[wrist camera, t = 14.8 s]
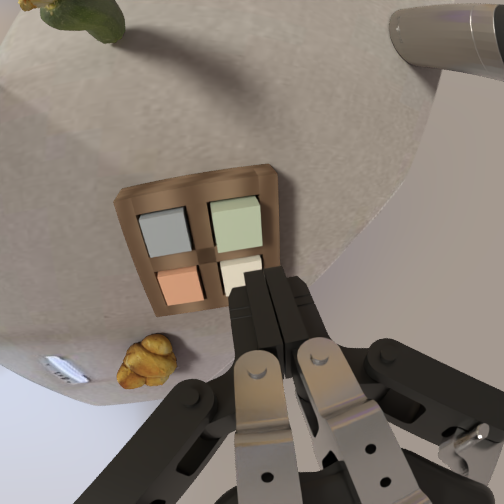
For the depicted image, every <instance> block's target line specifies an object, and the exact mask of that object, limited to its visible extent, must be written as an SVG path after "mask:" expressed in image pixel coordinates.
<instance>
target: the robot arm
mask: <svg viewBox="0 0 504 504" xmlns="http://www.w3.org/2000/svg"><path fill="white" fill-rule="evenodd" d="M389 31H390V37H391V40H392V42H393V44H394V46H395V49H396V50H397V51H398V53H399V54H400V55H401V56H402V58H403V59H404V60H406V61H407V62H408V63H410V64H412V65H415V66H419V67H429V68H437V69H444V70H452V71H458V72H463V73H468V74H473V75H478V76H482V77H487V78H491V79H495V80H499V81H503V82H504V5H500V4H481V3H480V4H472V3H466V4H443V5H431V6H422V7H414V8H408V9H402V10H398V11H396V12H395V13H394V14H393V15H392V17H391V19H390V23H389ZM243 274H244V280H245V286H240V287H234V288H232V290H231V292H230V294H229V297H228V303H229V311H230V319H231V327H232V335H233V342H234V349H235V360H234V363H233V365H232V367H231V368H230V369H229V370H228V371H227V372H226V373H225V374H223V375H222V376H220V377H218V378H216V379H213V380H211V381H209V382H207V383H205V382H204V381H201V380H198V379H188V380H184V381H182V382H180V383H178V384H177V385H176V386H175V387H174V388H173V389H172V390H171V391H170V392H169V394H168V395H167V396H166V397H165V398H164V400H163V401H162V402H161V403H160V405H159V406H158V407H157V408H156V409H155V411H154V412H153V413H152V414H151V415H150V417H149V418H148V419H147V420H146V422H144V424H143V425H142V426H141V427H140V428H139V429H138V431H137V432H136V433H135V435H133V437H132V438H131V439H130V440H129V441H128V442H127V444H126V445H125V446H124V447H123V448H122V449H121V451H120V452H119V453H118V454H117V455H116V457H114V459H113V460H112V461H111V462H110V463H109V464H108V465H107V467H106V468H105V469H104V470H103V471H102V472H101V473H100V474H99V476H98V477H97V478H96V479H95V480H94V481H93V482H92V484H91V485H90V486H89V487H88V488H87V489H86V490H85V491H84V492H83V493H82V494H81V496H80V497H79V498H78V499H77V500H76V501H75V502H74V503H73V504H176V502H177V501H178V500H179V498H181V496H182V495H183V494H184V493H185V491H186V490H187V489H188V488H189V486H190V485H191V484H192V483H193V481H194V480H195V479H196V478H197V476H198V475H199V474H200V472H201V471H202V470H203V468H204V467H205V466H206V465H207V463H208V462H209V460H210V459H211V458H212V456H213V455H214V454H215V452H216V451H217V449H218V448H219V447H220V445H221V444H222V443H223V441H224V440H225V438H226V437H227V435H228V434H229V433H231V432H233V431H235V430H236V432H235V437H234V447H235V463H236V478H237V486H235V487H233V488H232V489H230V490H228V491H227V492H226V493H225V494H223V495H222V496H221V497H220V498H219V499H218V500H217V501H216V502H215V504H495V499H494V495H493V493H492V491H491V490H490V488H488V487H487V485H488V483H489V481H490V479H491V476H492V474H493V471H494V469H495V466H496V464H497V461H498V458H499V455H500V452H501V450H502V446H503V444H504V392H503V391H501V390H499V389H497V388H495V387H492V386H490V385H488V384H486V383H484V382H481V381H479V380H477V379H475V378H473V377H471V376H468V375H467V374H465V373H462V372H460V371H458V370H456V369H454V368H452V367H450V366H448V365H446V364H443V363H441V362H439V361H437V360H435V359H433V358H431V357H429V356H427V355H425V354H422V353H421V352H419V351H416V350H414V349H412V348H410V347H408V346H406V345H404V344H402V343H400V342H398V341H396V340H393V339H388V338H384V339H379V340H377V341H376V342H374V343H373V344H372V345H371V346H370V347H369V348H346V347H343V346H340V345H338V344H336V343H335V342H334V341H332V340H331V338H330V337H329V335H328V333H327V332H326V329H325V326H324V324H323V322H322V319H321V317H320V315H319V312H318V310H317V308H316V305H315V304H314V301H313V299H312V296H311V294H310V292H309V289H308V287H307V285H306V283H305V282H303V281H302V280H301V279H300V278H299V277H298V276H294V277H289V278H286V275H285V273H284V270H283V267H282V266H276V267H270V268H265V269H263V271H262V269H260V270H254V271H248V272H243ZM284 374H285V377H286V378H292V377H293V381H294V384H295V388H296V389H295V394H296V398H297V401H298V404H299V407H300V409H301V412H302V415H303V417H304V420H305V423H306V425H307V428H308V431H309V433H310V436H311V439H312V445H313V450H314V454H315V456H316V459H317V462H318V464H319V467H320V471H318V472H298V468H297V461H296V455H295V449H294V442H293V436H292V431H291V427H290V424H289V418H288V412H287V406H286V399H285V393H284V387H283V379H284ZM387 421H388V422H391V423H392V424H394V425H396V426H398V427H400V428H402V429H404V430H406V431H408V432H410V433H412V434H414V435H416V436H418V437H420V438H422V439H425V440H427V441H429V442H431V443H433V444H436V445H438V446H439V452H438V457H439V459H440V460H442V461H443V462H444V463H445V464H447V465H448V466H449V467H450V468H451V470H452V471H451V470H449V469H446V468H444V467H442V466H440V465H438V464H436V463H434V462H431V461H430V460H428V459H426V458H424V457H422V456H420V455H418V454H416V453H414V452H412V451H409V450H406V449H403V448H400V446H399V444H398V442H397V440H396V438H395V436H394V434H393V432H392V429H391V428H390V426H389V424H388V422H387Z"/></svg>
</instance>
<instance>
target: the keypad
mask: <svg viewBox="0 0 504 504" xmlns="http://www.w3.org/2000/svg"><path fill="white" fill-rule="evenodd" d="M250 195H255V197H256V199H257V201H258V203H259V204H260V213H261V229H262V245H263V246H259V247H252V248H246V249H240V250H234V251H228V252H222V253H218V249H217V243H216V237H215V231H214V225H213V219H212V212H211V205H210V201H216V200H222V199H229V198H236V197H243V196H250ZM113 203H114V206H115V209H116V212H117V216H118V219H119V222H120V225H121V228H122V231H123V234H124V237H125V240H126V242H127V245H128V248H129V251H130V254H131V256H132V259H133V262H134V264H135V267H136V270H137V272H138V275H139V277H140V280H141V282H142V285H143V287H144V290H145V292H146V294H147V297H148V299H149V301H150V304H151V306H152V308H153V311H154V313H155V315H156V317H160V316H167V315H175V314H181V313H188V312H195V311H201V310H208V309H214V308H220V307H226V306H229V303H228V297H229V296H226V293H225V287H224V282H223V276H222V271H221V265H220V261H225V260H231V259H237V258H243V257H249V256H255V255H260V258H261V263H262V271H263V269H265V268H270V267H276V266H280V240H279V200H278V174H277V173H276V171H275V170H274V169H273V168H272V167H271V166H270V165H269V164H261V165H253V166H245V167H237V168H230V169H223V170H216V171H209V172H203V173H197V174H191V175H185V176H180V177H175V178H169V179H164V180H159V181H154V182H149V183H145V184H140V185H136V186H131V187H127V188H122V189H121V191H120V192H119V194H118V195H117V197H116V198H115V200H114V202H113ZM181 206H185V208H186V213H187V218H188V223H189V228H190V232H191V237H192V251H187V252H181V253H175V254H169V255H164V256H158V257H152V258H150V255H149V252H148V249H147V245H146V242H145V239H144V236H143V233H142V229H141V226H140V223H139V218H140V216H141V214H144V213H149V212H154V211H159V210H164V209H170V208H175V207H181ZM195 265H198V268H199V272H200V276H201V280H202V284H203V294H204V300H202V301H196V302H190V303H183V304H176V305H170V306H168V305H167V302H166V300H165V297H164V294H163V292H162V289H161V286H160V283H159V281H158V278H157V276H158V271H164V270H170V269H176V268H182V267H189V266H195Z"/></svg>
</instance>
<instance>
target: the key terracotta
mask: <svg viewBox="0 0 504 504" xmlns="http://www.w3.org/2000/svg"><path fill="white" fill-rule="evenodd" d="M157 278H158V281H159V283H160V286H161V289H162V292H163V294H164V297H165V300H166V302H167V305H168V306H170V305H176V304H183V303H190V302H196V301H202V300H204V294H203V284H202V280H201V276H200V272H199V268H198V265H195V266H189V267H182V268H176V269H170V270H164V271H158V276H157Z"/></svg>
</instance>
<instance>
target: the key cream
mask: <svg viewBox="0 0 504 504" xmlns="http://www.w3.org/2000/svg"><path fill="white" fill-rule="evenodd" d="M220 265H221V271H222V276H223V282H224V287H225V293H226V296H229V294H230V292H231V290H232V288H234V287H240V286H245V280H244V274H243V272H248V271H254V270H260V269H262V263H261V258H260V255H255V256H249V257H243V258H237V259H231V260H225V261H220Z"/></svg>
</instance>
